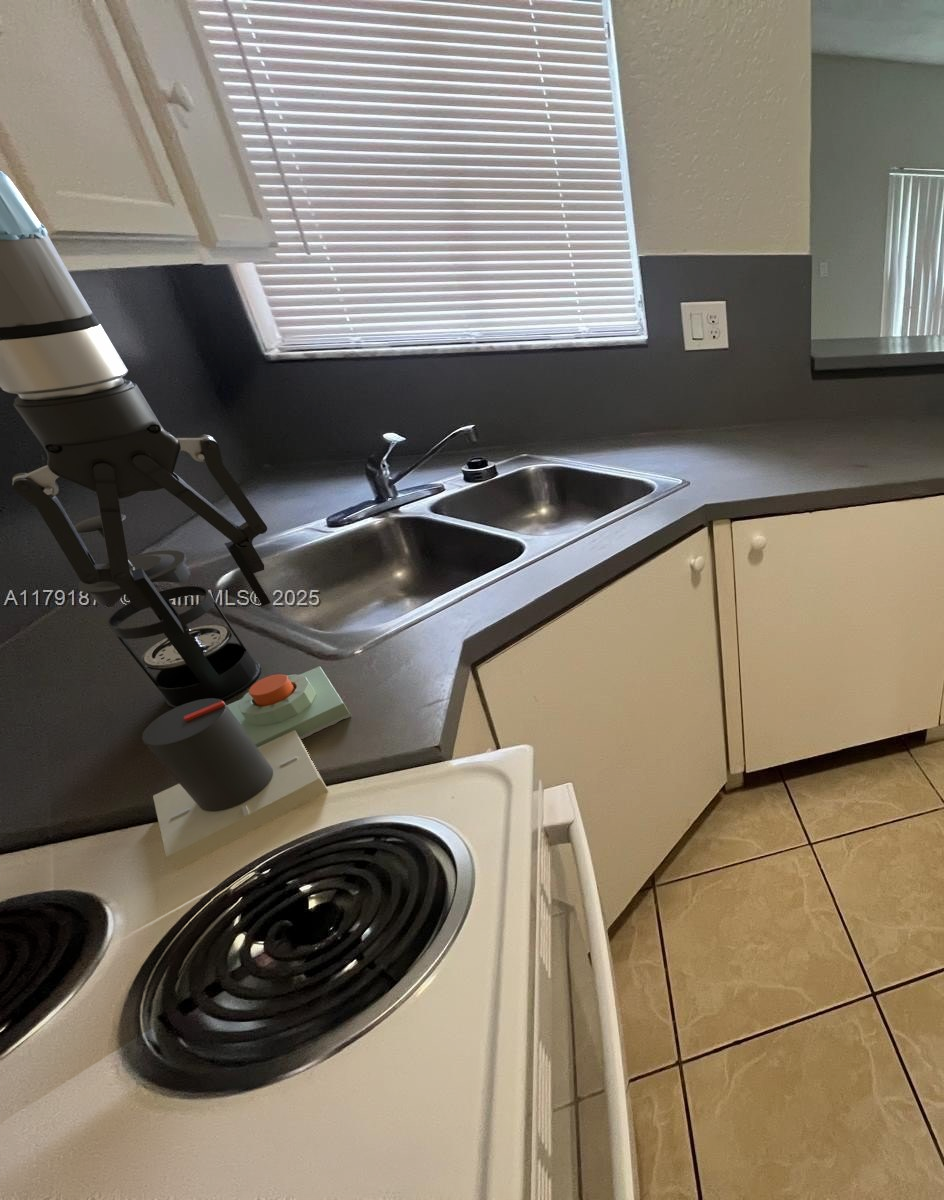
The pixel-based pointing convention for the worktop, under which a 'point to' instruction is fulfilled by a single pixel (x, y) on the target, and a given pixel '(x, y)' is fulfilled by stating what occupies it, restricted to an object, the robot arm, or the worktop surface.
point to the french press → (184, 652)
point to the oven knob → (209, 754)
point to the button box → (291, 709)
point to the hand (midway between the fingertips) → (221, 613)
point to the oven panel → (207, 831)
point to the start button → (271, 690)
